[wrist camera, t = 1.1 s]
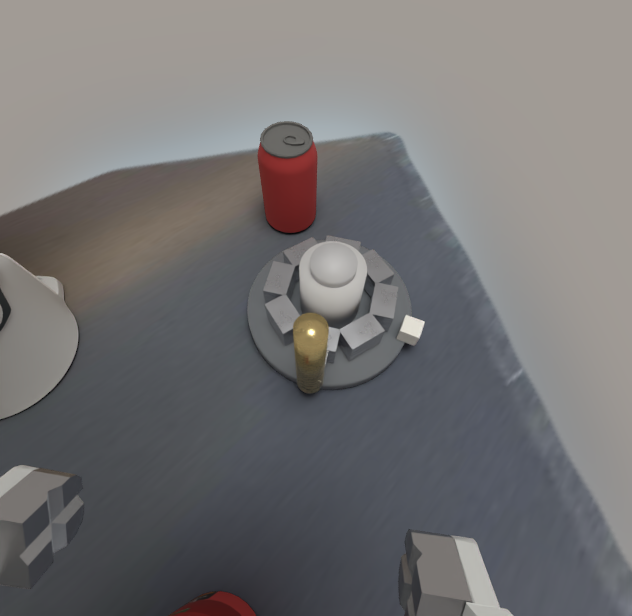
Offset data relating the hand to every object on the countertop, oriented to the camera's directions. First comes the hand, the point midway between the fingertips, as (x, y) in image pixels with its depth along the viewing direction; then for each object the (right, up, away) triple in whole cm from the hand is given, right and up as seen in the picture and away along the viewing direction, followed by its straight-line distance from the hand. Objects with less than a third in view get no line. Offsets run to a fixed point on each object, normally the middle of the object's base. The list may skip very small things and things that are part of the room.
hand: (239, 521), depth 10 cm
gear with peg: (+3, +4, +32) cm, 33 cm away
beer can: (-1, +17, +42) cm, 45 cm away
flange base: (+3, +5, +35) cm, 35 cm away
